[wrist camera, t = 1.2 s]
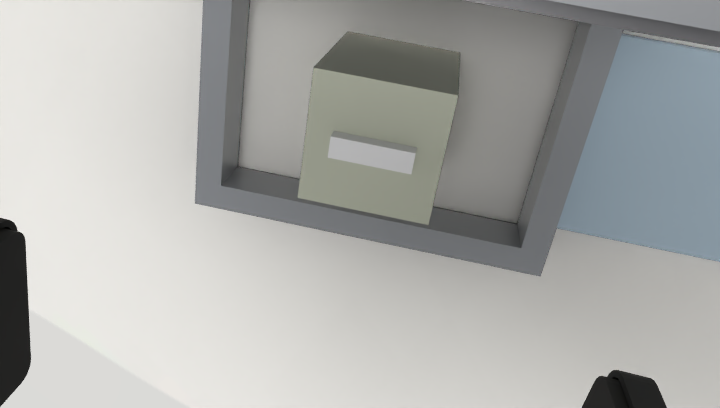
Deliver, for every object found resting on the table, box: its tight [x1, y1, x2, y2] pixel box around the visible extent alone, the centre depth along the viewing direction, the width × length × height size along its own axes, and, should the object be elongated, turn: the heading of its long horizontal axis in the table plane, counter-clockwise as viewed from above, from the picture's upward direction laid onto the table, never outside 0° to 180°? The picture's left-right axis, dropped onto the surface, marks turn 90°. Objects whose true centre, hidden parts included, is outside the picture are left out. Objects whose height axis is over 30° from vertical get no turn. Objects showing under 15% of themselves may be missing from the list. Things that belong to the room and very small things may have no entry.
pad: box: [557, 34, 720, 262], centre depth 27 cm, size 9×9×1 cm
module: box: [298, 32, 460, 225], centre depth 25 cm, size 5×5×8 cm
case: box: [195, 0, 720, 276], centre depth 21 cm, size 19×14×15 cm
